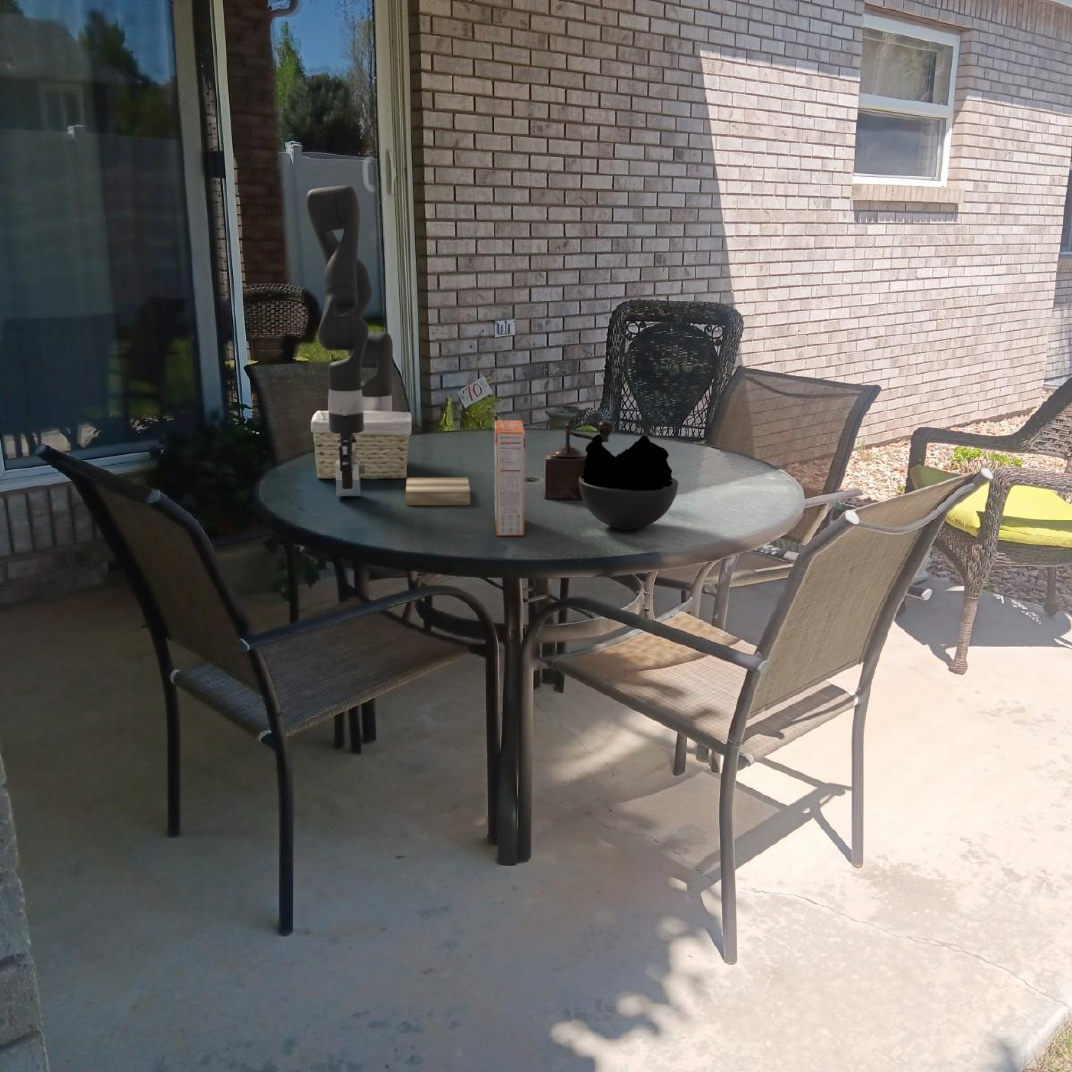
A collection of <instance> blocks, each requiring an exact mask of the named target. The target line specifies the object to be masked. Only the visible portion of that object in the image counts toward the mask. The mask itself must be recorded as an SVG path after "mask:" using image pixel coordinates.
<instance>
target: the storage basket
mask: <svg viewBox="0 0 1072 1072" xmlns="http://www.w3.org/2000/svg"><path fill="white" fill-rule="evenodd" d="M363 414H364V430H363V431H362V432H360V433H353V435H354V436H355V439H356V440H357V445H356V457H355V460H360V465H365V474H360V479H365V480H378V479H392V480H393V479H407V478H408V477H407V475H408V474H407V466H408V465H407V464H408V453H409V443H410V442H409V440H410V436H411V435H412V423H413V422H412V421H413V420H412V413H411V412H409V411H407V412H404V411H393V410H392V411H363ZM310 431H311V433H312V435H313V443H314V449H315V450H314V454H315V457H314V458H315V459H314V460H315V464H316V465H315V467H316V476H317V478H319V479H336V470H335V464H336V461H337V460H339V449H338V447H337V441H338V439H341V435H340V434H339V433H332V432H331V431H330V430H329V410H317V411H316V412H315V413H314V414H313V416H312V418H311V423H310Z"/></svg>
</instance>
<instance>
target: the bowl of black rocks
mask: <svg viewBox="0 0 1072 1072" xmlns="http://www.w3.org/2000/svg"><path fill="white" fill-rule="evenodd" d="M650 440H651V439H650V438H649V437H648V435H642V436H640V438H639V439H638V440H637V441H634V443H633V444H632V445H631V446H630V447H629V448H627V449H624V450H623V451H621V452H620V453H617V454H616V456H615V455H614V454H612V453H611V452H610V451H609V450H608V449H607V448H606V447H605V446H604V445H603V442H602V437H601V436H600V435H599V434H596V435H594V436H593V439H592V440H591V441H590V442H589V443H588V444H587V445H586V446H585V447H586V448H585V449H584V452H587V455H586V459H585V467H584V475H582V476H580V478H579V489H580V493H581V496H582V499H581V500H582V501H583V503H584V505H585V507H586V508H587V510H588V511H589V512H590V513H591V515H592V516H594V517H595V518H596V519H597V520H599V521H600V522H602V523H603V524H605V525H606V526H609V527H611V528H615V529H617V530H618V529H619V530H627V531H628V530H637V529H643V528H646V527H648V526H650V525H652V524H653V523H655V522H657V521H659V520H660V519H661V518H662V517H663V516H664V515H665V514H666V513H667V512H668V510H670V508H671V506H672V504H673V502H674V501H675V499H676V496H677V492H678V488H679V481H678V480H677V479H675V477H673V476H672V473H673V470H672V468H671V466H670V465H669V463H668V460H667V459H668V458H669V456H670V454H669V453H668V450H666V449H665V448H664V447H662V446H659V445H658V444H657V443H654V442H652V441H650Z"/></svg>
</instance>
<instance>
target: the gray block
mask: <svg viewBox="0 0 1072 1072" xmlns="http://www.w3.org/2000/svg"><path fill="white" fill-rule="evenodd" d="M343 466H349V462H344V463H343ZM352 467H353V471H352V481H353V487H352V489H343V488H342V472H341V471H340V461H339V460H337V461H336V464H335V470H336V478H335V490H336V493H335V494H336V496H360V494H361V489H362V488H361V487H362V486H361V478H360V474H365V465H360V460H355V461H354V462H353V463H352Z"/></svg>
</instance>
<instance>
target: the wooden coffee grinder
mask: <svg viewBox="0 0 1072 1072" xmlns="http://www.w3.org/2000/svg"><path fill="white" fill-rule="evenodd" d="M597 426H598V427H597V428H598V431H599V433H598V435H600V436H601V437H602V443H608V442H610V439H609V437H610V435H611V434H613V433H614V432H615V429H616V427H615V424H613V422H611V421H609V420H605V419H604V420H602V421H600V422H599V423H598V425H597ZM571 427H572V425H571V423H566V424H565V430H564V433H565V444H564V445H563V446H560V447H558V448H556V449H555V450H545V452H544V469H543V470H544V471H543V488H542V490H543V498H544V499H545V500H565V501H566V500H567V501H569V500H583V499H582V496H581V493H580V489H579V478H580V476H582V475H584V467H585V459H586V455H587V452H586V451H581V450H580V449H578V448H577V447H576V446H575V447H574V446H571V443H570V440H571V439H570V438H571V436H573V437H576V438H581V439H586V440H590V441H592V439H593V437H594V436H592V435H588V434H586V433H578V432H574V431H572V429H571Z"/></svg>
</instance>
